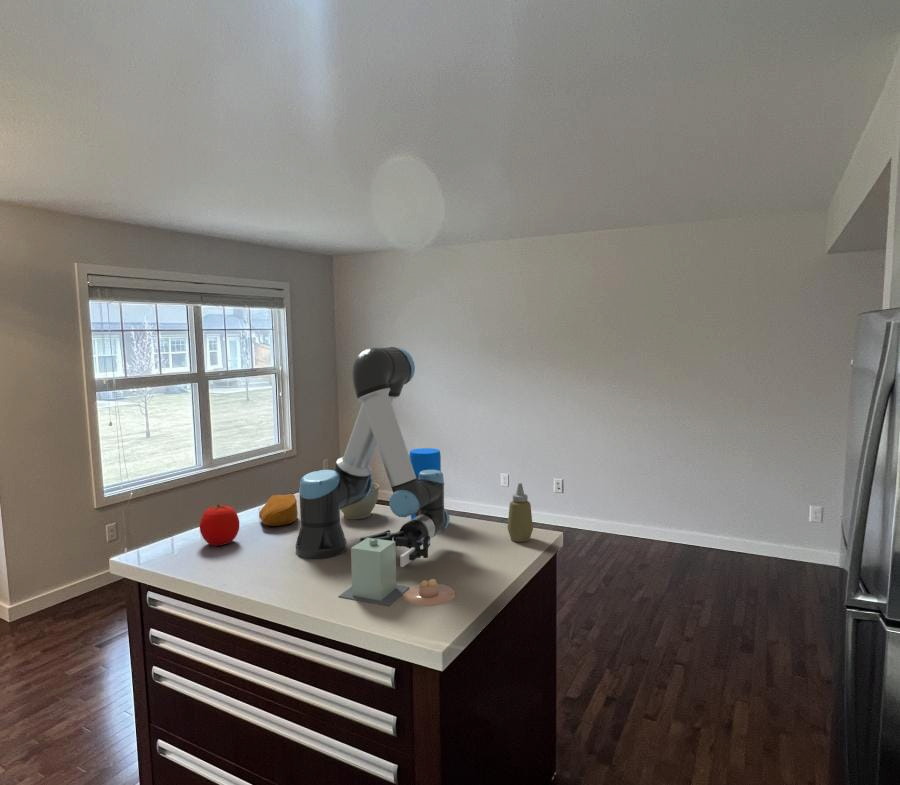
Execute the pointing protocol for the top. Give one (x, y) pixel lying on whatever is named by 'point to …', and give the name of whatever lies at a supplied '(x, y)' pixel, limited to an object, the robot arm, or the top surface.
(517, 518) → the squeeze bottle
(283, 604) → the top surface
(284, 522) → the bread
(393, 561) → the cover
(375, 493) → the planter bowl
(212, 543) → the red apple
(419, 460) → the thermos
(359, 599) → the mat
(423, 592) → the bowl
